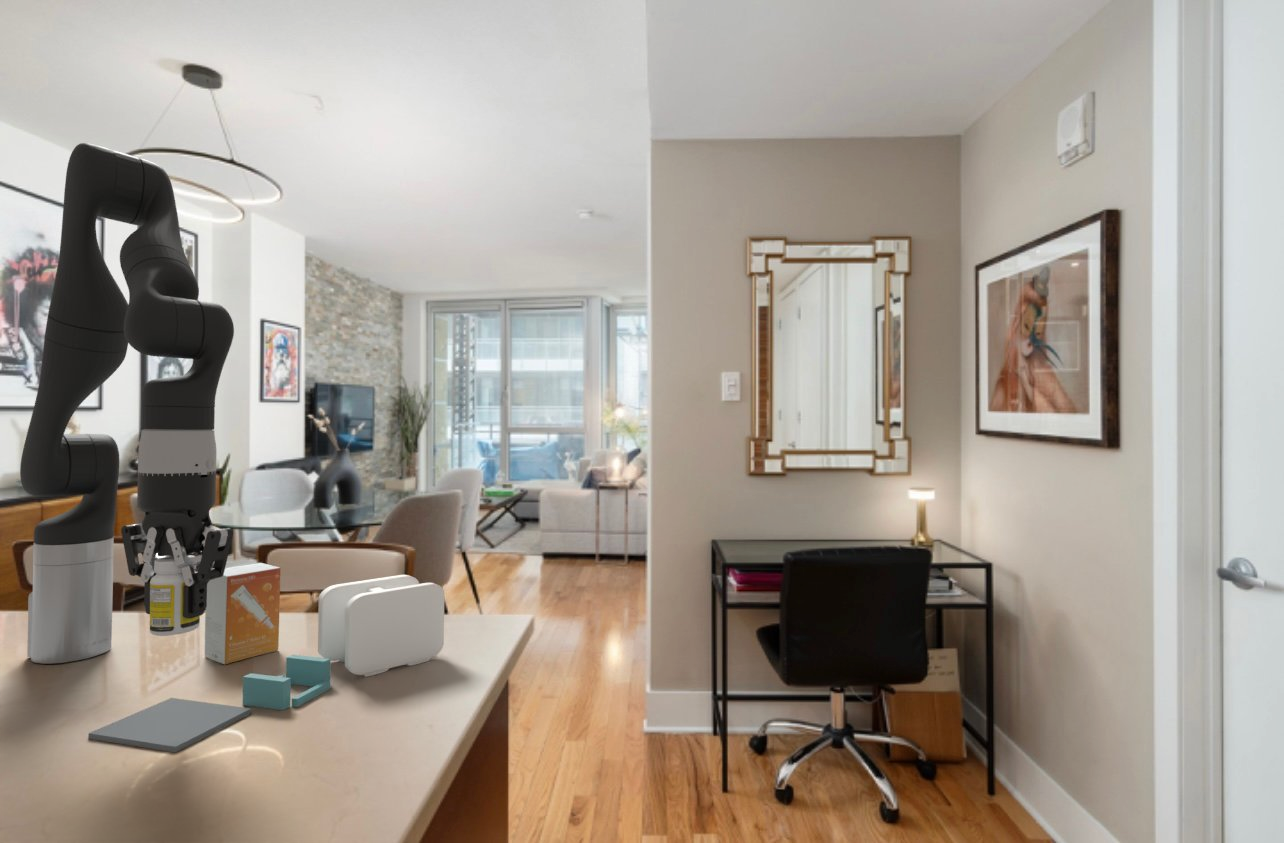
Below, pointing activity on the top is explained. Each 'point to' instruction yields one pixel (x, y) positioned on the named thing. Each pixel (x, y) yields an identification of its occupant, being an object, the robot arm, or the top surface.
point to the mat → (170, 724)
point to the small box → (242, 613)
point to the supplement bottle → (168, 600)
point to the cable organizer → (381, 623)
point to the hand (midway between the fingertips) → (175, 613)
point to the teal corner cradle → (288, 683)
